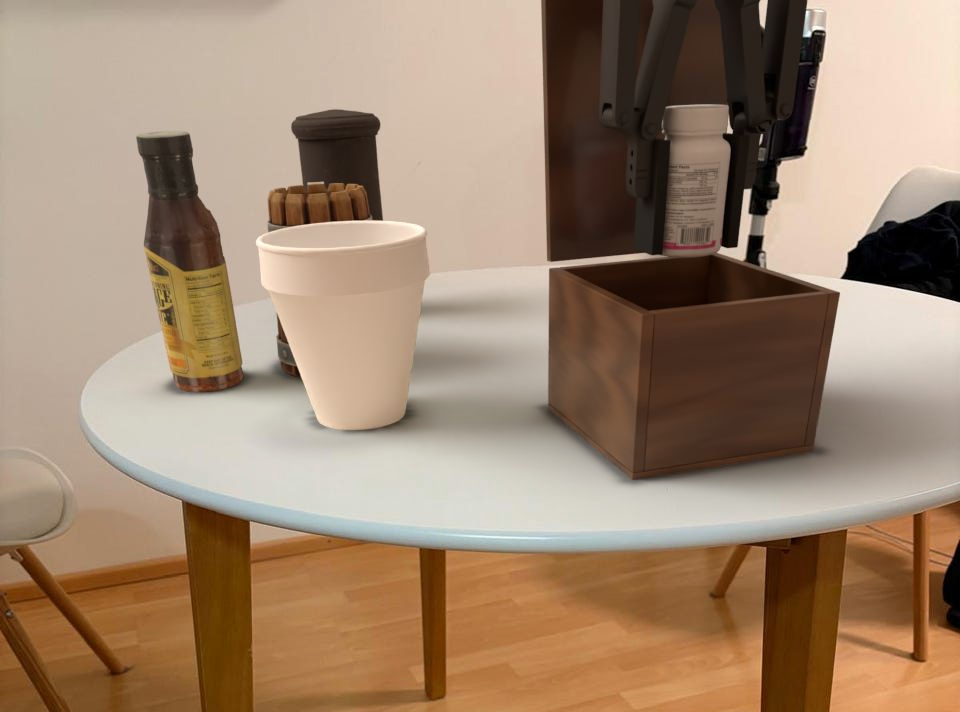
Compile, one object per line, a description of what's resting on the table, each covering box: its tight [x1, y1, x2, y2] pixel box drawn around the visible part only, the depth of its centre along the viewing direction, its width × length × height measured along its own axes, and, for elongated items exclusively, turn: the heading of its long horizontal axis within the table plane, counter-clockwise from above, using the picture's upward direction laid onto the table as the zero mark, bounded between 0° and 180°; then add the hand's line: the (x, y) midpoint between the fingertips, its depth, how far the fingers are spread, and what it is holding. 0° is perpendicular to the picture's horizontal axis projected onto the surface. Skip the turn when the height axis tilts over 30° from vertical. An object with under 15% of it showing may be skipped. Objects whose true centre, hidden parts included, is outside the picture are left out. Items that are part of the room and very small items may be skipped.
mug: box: [266, 182, 373, 377], centre depth 83 cm, size 16×11×15 cm
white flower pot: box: [255, 220, 431, 431], centre depth 69 cm, size 12×12×14 cm
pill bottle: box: [661, 104, 731, 258], centre depth 59 cm, size 5×5×8 cm
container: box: [290, 108, 384, 221], centre depth 97 cm, size 9×9×20 cm
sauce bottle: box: [135, 130, 244, 393], centre depth 76 cm, size 7×6×20 cm
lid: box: [540, 0, 728, 263], centre depth 64 cm, size 16×14×1 cm
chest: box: [547, 252, 841, 481], centre depth 65 cm, size 16×14×11 cm
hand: (685, 247), depth 61 cm, fingers closed on pill bottle, 5 cm apart
